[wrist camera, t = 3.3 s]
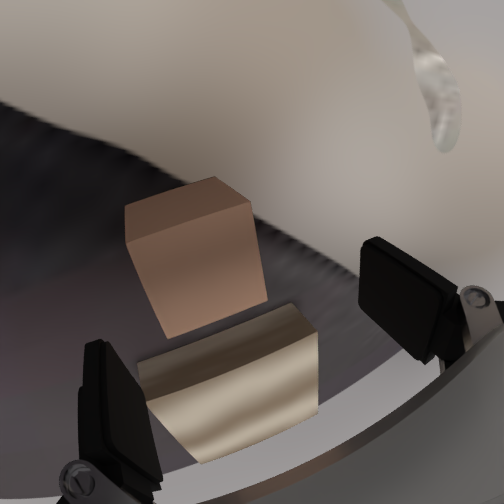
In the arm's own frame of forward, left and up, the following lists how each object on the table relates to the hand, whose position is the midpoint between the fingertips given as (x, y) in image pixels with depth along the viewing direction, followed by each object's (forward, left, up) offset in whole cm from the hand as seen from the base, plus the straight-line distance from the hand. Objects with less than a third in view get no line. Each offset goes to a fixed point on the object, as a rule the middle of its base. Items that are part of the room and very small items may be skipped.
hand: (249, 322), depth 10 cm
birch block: (+14, -1, -9) cm, 16 cm away
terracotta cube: (0, -1, -8) cm, 8 cm away
